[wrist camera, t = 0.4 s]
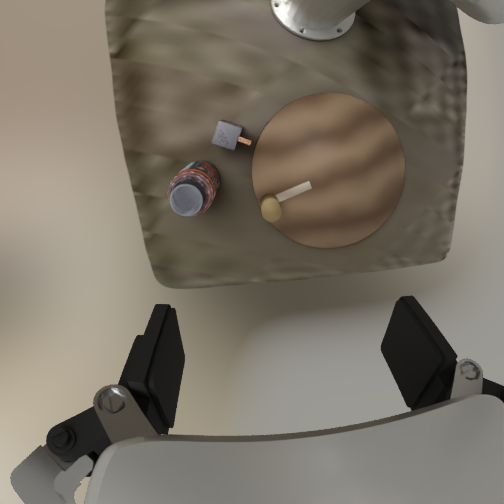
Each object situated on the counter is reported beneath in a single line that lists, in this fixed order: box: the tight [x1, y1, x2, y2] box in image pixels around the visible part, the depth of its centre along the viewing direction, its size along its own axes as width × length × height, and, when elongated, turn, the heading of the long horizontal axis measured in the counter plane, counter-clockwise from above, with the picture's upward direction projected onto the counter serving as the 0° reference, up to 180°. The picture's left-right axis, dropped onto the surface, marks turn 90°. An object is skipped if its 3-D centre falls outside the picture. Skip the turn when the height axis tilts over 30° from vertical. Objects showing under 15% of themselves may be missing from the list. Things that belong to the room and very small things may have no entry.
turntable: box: [252, 93, 405, 248], centre depth 38 cm, size 24×24×6 cm
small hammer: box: [211, 120, 252, 150], centre depth 36 cm, size 3×5×6 cm, turn 70°
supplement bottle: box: [168, 160, 220, 217], centre depth 37 cm, size 6×6×11 cm
